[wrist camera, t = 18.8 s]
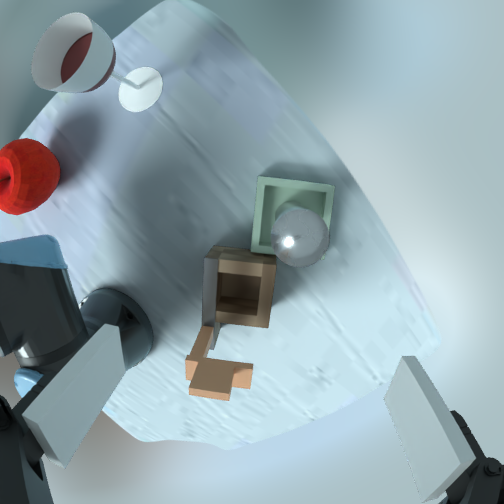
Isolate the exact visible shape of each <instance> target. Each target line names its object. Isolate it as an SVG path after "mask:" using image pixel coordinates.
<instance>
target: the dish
mask: <svg viewBox="0 0 504 504" xmlns="http://www.w3.org/2000/svg"><path fill="white" fill-rule="evenodd" d="M334 191H335V186H334V185H330V184H323V183H316V182H308V181H300V180H292V179H284V178H275V177H265V176H258V180H257V190H256V200H255V210H254V221H253V231H252V241H251V252H256V253H265V254H274V255H276V254H275V253H274V251H273V248H272V245H271V230H272V227H273V225H274V223H275V212H276V210H277V208H278V207H279V206H280V205H281V204H282V203H284V202H286V201H296V202H298V203H300V204H301V205H302V206H303V207H304V208H305V209H309V210H312V211H314V212H315V213H317V214H318V215H319V216H320V217H321V218H322V219H323V220H324V221H325V223H326V225H327V227H328V230H329V228H330V221H331V214H332V206H333V199H334ZM324 259H325V254H324V256H323V257H322V258H321V259H320V260H324Z"/></svg>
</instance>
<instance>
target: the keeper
mask: <svg viewBox="0 0 504 504" xmlns="http://www.w3.org/2000/svg"><path fill="white" fill-rule="evenodd" d="M213 329H214V327H208V326H202V327H201V329H200V332H199V334H198V336H197V339H196V341H195V343H194V346H193V348H192V350H191V353H190V355H187V357H186V359H185V365H186V380H191V383H190V386H189V395H194V396H200V397H206V398H212V399H219V400H226V401H229V399H230V393H231V388H232V387H238V388H246V389H250V386H251V378H252V371H253V364H250V363H241V362H233V361H226V360H218V359H211V358H206V357H207V354H208V351H209V348H210V345H211V342H212V339H213Z"/></svg>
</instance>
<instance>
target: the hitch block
mask: <svg viewBox="0 0 504 504" xmlns="http://www.w3.org/2000/svg"><path fill="white" fill-rule="evenodd" d="M276 267H277V263H276V255H274V254H265V253H256V252H251V249H241V248H232V247H223V246H213V247H212V248H211V250H210V251H209V253H208V254H207V255H206V257H204V272H203V298H202V326H208V327H214V329H213V339H212V342H211V345H210V348H209V349H211V350H214V347H215V344H216V341H217V338H218V334H219V331H220V326H221V323H227V324H235V325H244V326H252V327H262V328H268V327H269V319H270V312H271V305H272V297H273V290H274V282H275V274H276Z"/></svg>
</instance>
